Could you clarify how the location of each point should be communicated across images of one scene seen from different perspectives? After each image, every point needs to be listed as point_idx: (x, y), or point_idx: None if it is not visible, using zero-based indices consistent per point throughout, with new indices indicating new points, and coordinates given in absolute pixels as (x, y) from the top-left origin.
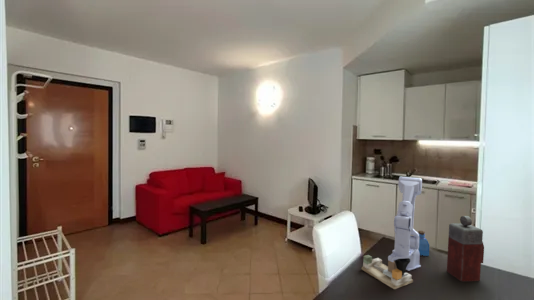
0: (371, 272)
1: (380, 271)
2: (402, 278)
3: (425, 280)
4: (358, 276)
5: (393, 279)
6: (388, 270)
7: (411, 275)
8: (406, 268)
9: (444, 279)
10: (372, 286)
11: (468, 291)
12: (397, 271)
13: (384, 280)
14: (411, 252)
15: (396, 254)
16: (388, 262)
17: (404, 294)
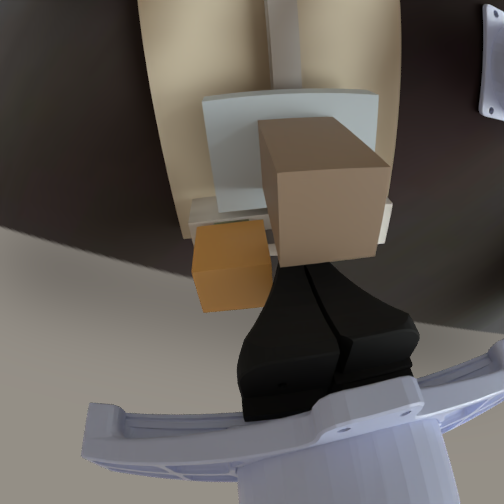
0: (147, 12)
1: (252, 21)
2: (276, 254)
3: (447, 219)
4: (40, 26)
5: (193, 241)
6: (259, 128)
7: (381, 242)
8: (487, 96)
9: (499, 242)
10: (63, 163)
11: (462, 311)
12: (226, 300)
13: (166, 156)
14: (451, 429)
15: (229, 473)
16: (271, 160)
17: None
